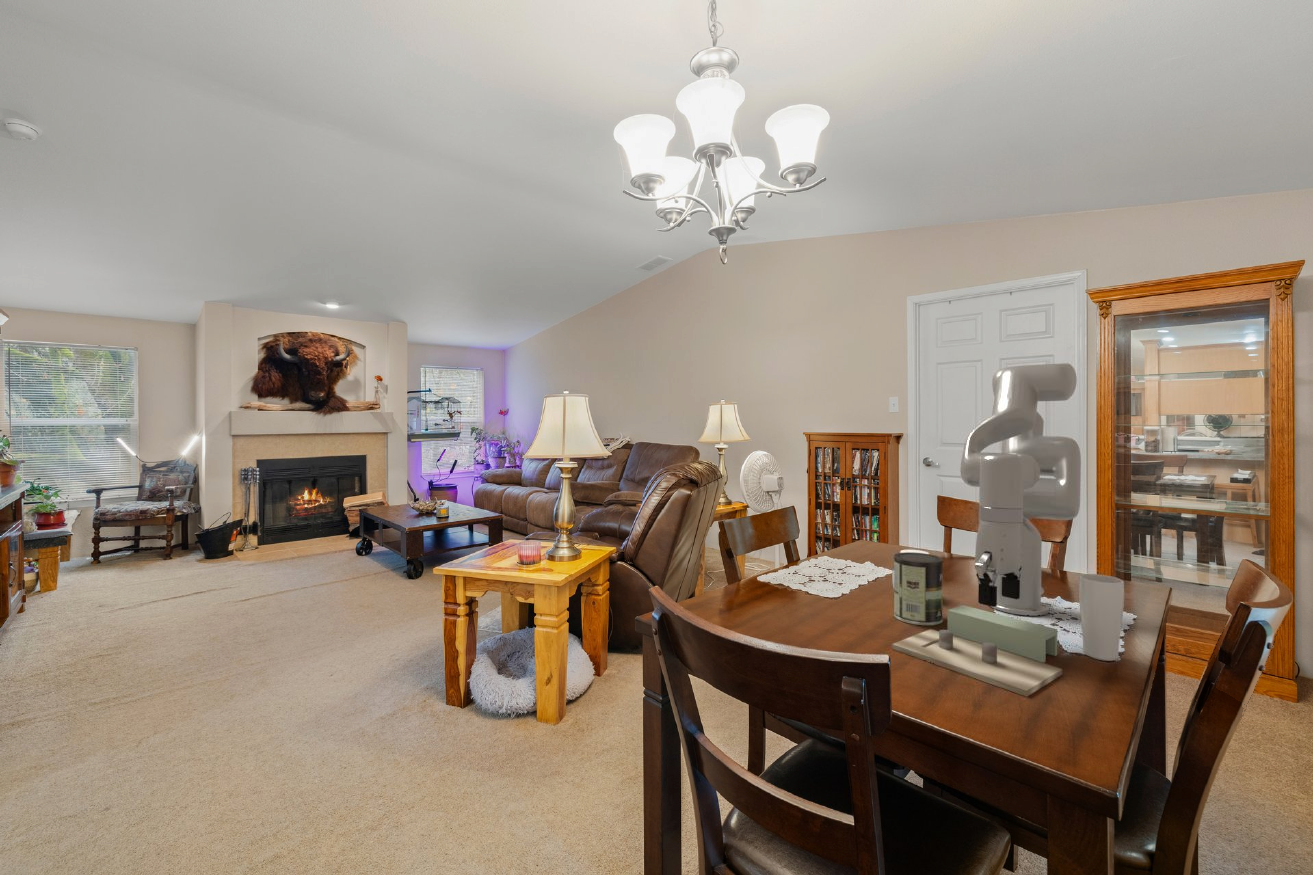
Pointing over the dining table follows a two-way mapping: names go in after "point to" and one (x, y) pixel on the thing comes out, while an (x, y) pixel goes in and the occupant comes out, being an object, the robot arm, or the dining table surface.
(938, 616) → the coffee can
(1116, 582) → the drinking glass
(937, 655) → the board
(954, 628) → the long sage green beam
